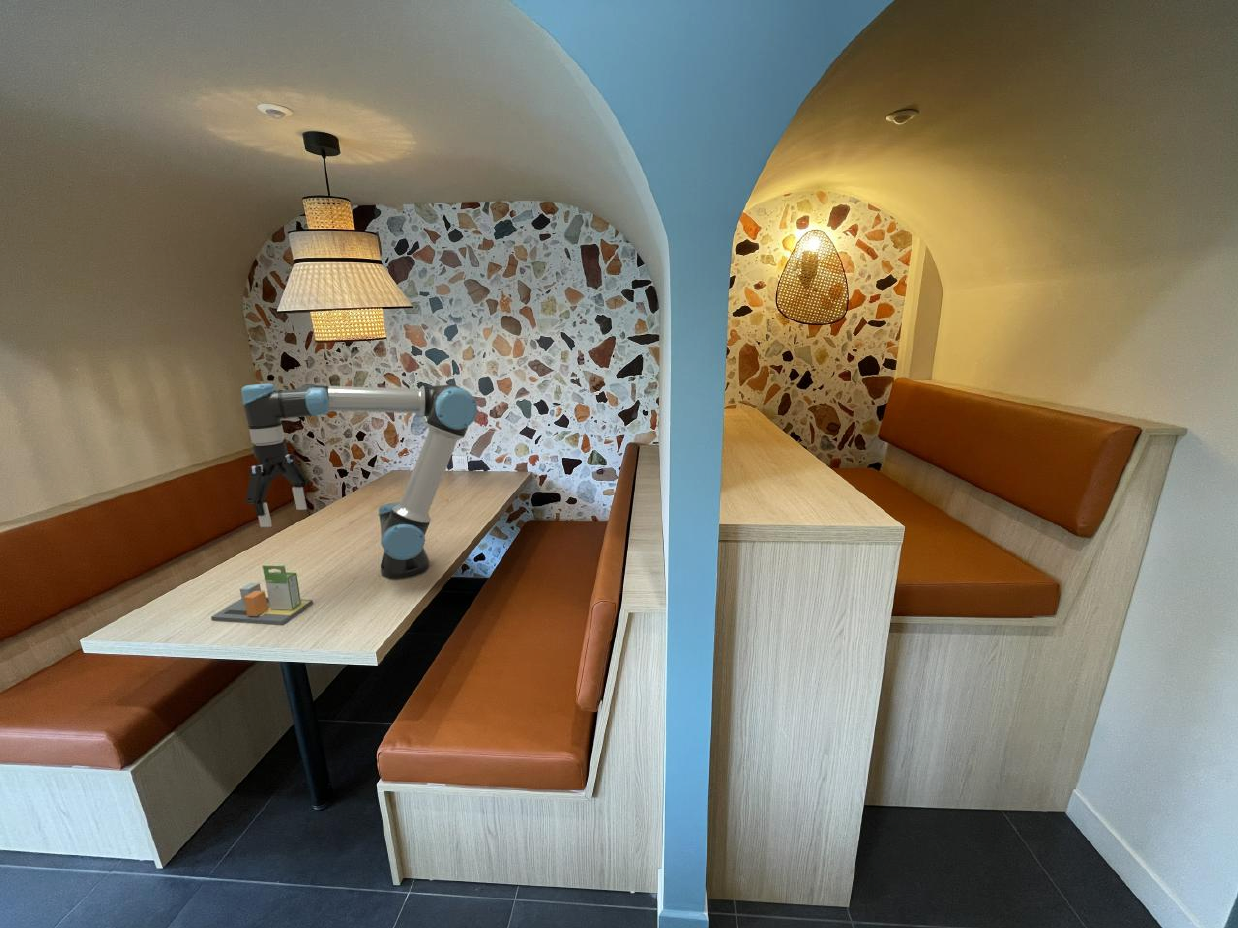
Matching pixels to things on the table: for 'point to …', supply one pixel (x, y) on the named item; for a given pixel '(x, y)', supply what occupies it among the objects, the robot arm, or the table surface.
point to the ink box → (282, 588)
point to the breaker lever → (255, 603)
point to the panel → (239, 614)
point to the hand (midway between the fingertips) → (284, 517)
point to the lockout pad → (285, 612)
